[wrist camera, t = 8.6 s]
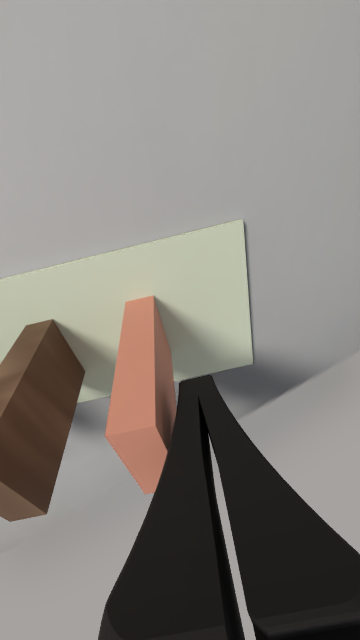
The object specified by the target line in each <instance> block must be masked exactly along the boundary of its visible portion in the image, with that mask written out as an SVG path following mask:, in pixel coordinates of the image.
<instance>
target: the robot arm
mask: <svg viewBox="0 0 360 640" xmlns="http://www.w3.org/2000/svg"><path fill="white" fill-rule="evenodd" d="M208 433H209V436H208ZM209 437H210V440H211V443H212V447H213V450H214V453H215V457H216V460H217V463H218V467H219V472H220V477H221V482H222V486H223V491H224V496H225V501H226V506H227V510H228V516H229V520H230V525H231V531H232V536H233V541H234V545H235V550H236V555H237V560H238V565H239V570H240V575H241V580H242V585H243V590H244V595H245V601H246V606H247V610H248V614H249V616H250V618H251V621H252V623H253V627H254V632H255V637H256V640H360V554H359V553H358V552H357V551H356V550H355V549H354V548H353V547H351V546H350V545H349V544H348V543H347V542H346V541H345V540H344V539H343V538H342V537H341V536H340V535H339V534H337V533H336V532H335V531H334V530H333V529H332V528H331V527H330V526H329V525H328V524H327V523H326V522H325V521H324V520H323V519H322V518H321V517H320V516H319V515H318V514H317V513H316V512H315V511H314V510H313V509H312V508H311V507H310V506H309V505H308V504H307V503H306V502H305V501H304V500H303V499H302V498H301V497H300V496H299V495H298V494H297V493H296V492H295V491H294V490H293V489H292V487H291V486H289V484H288V483H287V482H286V481H285V480H284V479H283V478H282V477H281V476H280V475H279V473H278V472H277V471H276V470H275V469H274V468H273V467H272V465H271V464H270V463H269V462H268V461H267V460H266V458H265V457H264V456H263V455H262V454H261V453H260V451H259V450H258V449H257V447H256V446H255V445H254V444H253V443H252V441H251V440H250V438H249V437H248V436H247V435H246V433H245V432H244V430H243V429H242V428H241V426H240V425H239V424H238V422H237V421H236V419H235V417H234V416H233V414H232V413H231V411H230V410H229V408H228V407H227V405H226V404H225V402H224V400H223V398H222V397H221V395H220V393H219V391H218V389H217V387H216V385H215V383H214V380H213V377H212V376H210V375H207V376H202V377H198V378H193V379H189V380H184V381H181V382H180V383H179V396H178V404H177V411H176V417H175V422H174V427H173V432H172V436H171V440H170V444H169V448H168V452H167V456H166V459H165V463H164V466H163V469H162V473H161V476H160V479H159V482H158V485H157V487H156V490H155V493H154V496H153V499H152V501H151V504H150V507H149V509H148V512H147V515H146V517H145V519H144V522H143V524H142V527H141V529H140V531H139V533H138V536H137V538H136V541H135V543H134V545H133V548H132V550H131V552H130V554H129V556H128V558H127V561H126V563H125V565H124V567H123V569H122V571H121V573H120V575H119V577H118V579H117V581H116V583H115V585H114V587H113V590H112V591H111V594H110V596H109V598H108V600H107V602H106V605H105V609H104V613H103V617H102V621H101V626H100V631H99V637H98V640H245V637H244V632H243V628H242V623H241V618H240V613H239V608H238V604H237V599H236V594H235V589H234V584H233V579H232V574H231V569H230V564H229V559H228V555H227V549H226V544H225V540H224V535H223V530H222V525H221V520H220V514H219V509H218V504H217V499H216V493H215V486H214V478H213V469H212V461H211V452H210V444H209Z"/></svg>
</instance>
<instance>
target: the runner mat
mask: <svg viewBox="0 0 360 640" xmlns="http://www.w3.org/2000/svg"><path fill="white" fill-rule="evenodd" d="M153 295H154V299H155V302H156V305H157V308H158V312H159V315H160V318H161V321H162V324H163V328H164V331H165V334H166V337H167V341H168V344H169V347H170V350H171V356H172V367H173V377H174V381H179V380H183V379H188V378H192V377H197V376H201V375H206V374H210V373H215V372H219V371H224V370H228V369H233V368H237V367H242V366H246V365H251V364H253V355H252V341H251V326H250V312H249V297H248V283H247V268H246V253H245V239H244V224H243V220H242V219H241V220H237V221H233V222H229V223H224V224H220V225H216V226H212V227H208V228H204V229H200V230H196V231H192V232H188V233H184V234H180V235H176V236H172V237H168V238H164V239H160V240H156V241H152V242H148V243H144V244H140V245H136V246H132V247H128V248H124V249H120V250H116V251H112V252H108V253H103V254H99V255H95V256H91V257H87V258H83V259H79V260H75V261H71V262H67V263H63V264H59V265H55V266H51V267H47V268H43V269H39V270H35V271H31V272H27V273H23V274H19V275H15V276H11V277H7V278H3V279H0V364H1V363H2V361H3V360H4V358H5V356H6V355H7V353H8V352H9V350H10V349H11V347H12V346H13V344H14V343H15V341H16V340H17V338H18V337H19V335H20V334H21V332H22V330H23V329H24V327H25V326H26V325H30V324H34V323H38V322H42V321H46V320H51V319H53V320H54V322H55V323H56V325H57V327H58V328H59V330H60V332H61V333H62V335H63V336H64V338H65V340H66V341H67V343H68V344H69V346H70V348H71V349H72V351H73V352H74V354H75V356H76V357H77V359H78V360H79V362H80V364H81V365H82V367H83V368H84V370H85V375H84V379H83V383H82V386H81V390H80V394H79V397H78V401H77V403H80V402H85V401H89V400H94V399H98V398H103V397H107V396H111V393H112V387H113V380H114V374H115V367H116V361H117V354H118V348H119V341H120V335H121V328H122V322H123V315H124V309H125V302H127V301H131V300H135V299H140V298H144V297H148V296H153Z"/></svg>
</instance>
